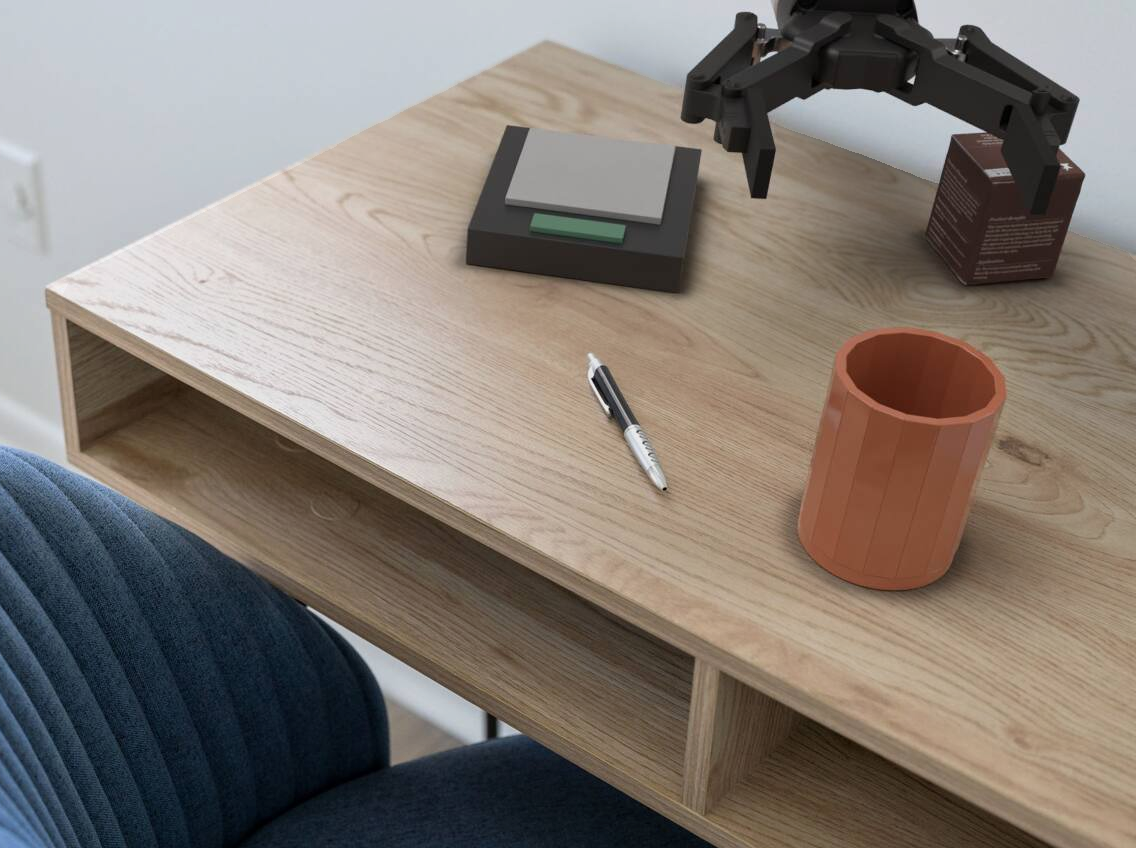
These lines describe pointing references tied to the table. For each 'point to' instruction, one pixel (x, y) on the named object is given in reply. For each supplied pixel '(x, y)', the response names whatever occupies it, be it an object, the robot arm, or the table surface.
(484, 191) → the scale
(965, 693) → the table surface
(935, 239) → the box
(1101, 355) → the table surface
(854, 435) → the cup
